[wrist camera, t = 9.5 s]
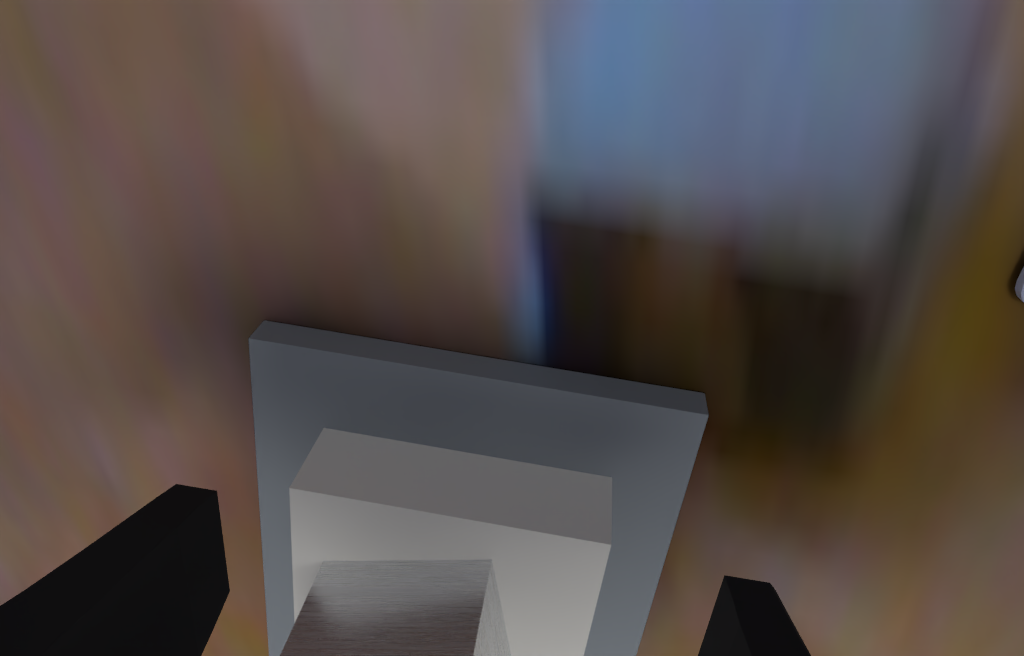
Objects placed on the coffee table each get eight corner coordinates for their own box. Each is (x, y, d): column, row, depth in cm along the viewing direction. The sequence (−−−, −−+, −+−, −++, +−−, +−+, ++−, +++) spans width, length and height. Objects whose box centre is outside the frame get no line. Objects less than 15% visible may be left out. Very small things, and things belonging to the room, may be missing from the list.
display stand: (704, 393, 20) (720, 479, 17) (599, 750, 28) (597, 853, 25) (264, 320, 20) (202, 391, 17) (283, 689, 28) (243, 782, 25)
